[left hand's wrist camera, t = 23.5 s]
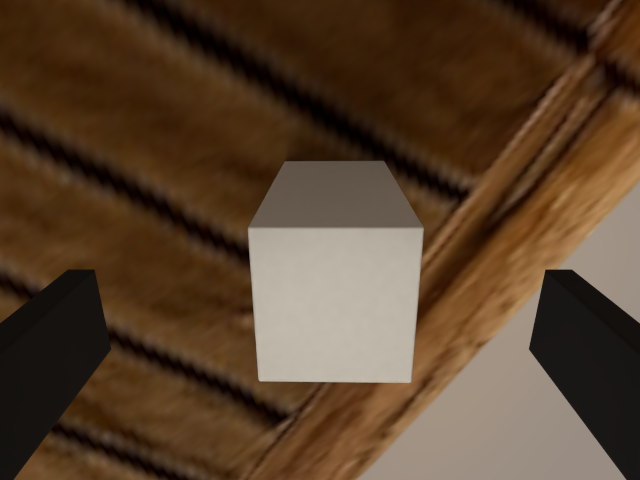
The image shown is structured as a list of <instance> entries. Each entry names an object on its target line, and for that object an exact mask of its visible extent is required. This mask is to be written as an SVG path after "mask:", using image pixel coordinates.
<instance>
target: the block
mask: <svg viewBox="0 0 640 480" xmlns="http://www.w3.org/2000/svg"><path fill="white" fill-rule="evenodd" d="M423 233H424V228H423V226H422V224H421V223H420V221H419V219H418V218H417V216H416V214H415V213H414V211H413V209H412V207H411V206H410V204H409V202H408V201H407V199H406V197H405V196H404V194H403V192H402V191H401V189H400V187H399V186H398V184H397V182H396V180H395V179H394V177H393V175H392V174H391V172H390V170H389V169H388V167H387V165H386V164H385V162H384V161H285V162H284V164H283V166H282V167H281V169H280V171H279V173H278V175H277V176H276V178H275V180H274V182H273V184H272V185H271V187H270V189H269V191H268V193H267V194H266V196H265V198H264V200H263V202H262V203H261V205H260V207H259V209H258V211H257V212H256V214H255V216H254V218H253V220H252V221H251V223H250V225H249V227H248V239H249V253H250V267H251V281H252V295H253V309H254V323H255V337H256V351H257V365H258V379H259V381H295V382H383V383H411V381H412V369H413V357H414V344H415V332H416V320H417V307H418V295H419V283H420V270H421V258H422V246H423Z"/></svg>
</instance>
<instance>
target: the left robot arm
mask: <svg viewBox="0 0 640 480" xmlns="http://www.w3.org/2000/svg"><path fill="white" fill-rule="evenodd" d="M110 350H111V347H110V342H109V337H108V332H107V327H106V323H105V318H104V313H103V308H102V303H101V299H100V294H99V289H98V284H97V280H96V275H95V270H67V271H66V272H65V273H63V274H62V275H61V276H59V277H58V278H57V279H56V280H54V281H53V282H52V283H51V284H49V285H48V286H47V287H46V288H44V289H43V290H42V291H41V292H39V293H38V294H37V295H36V296H34V297H33V298H32V299H30V300H29V301H28V302H27V303H25V304H24V305H23V306H22V307H20V308H19V309H18V310H17V311H15V312H14V313H13V314H12V315H10V316H9V317H8V318H7V319H5V320H4V321H3V322H1V323H0V480H14V478H15V477H16V476H17V474H18V473H19V472H20V470H21V469H22V468H23V466H24V465H25V464H26V462H27V461H28V460H29V458H30V457H31V456H32V454H33V453H34V452H35V450H36V449H37V448H38V446H39V445H40V444H41V442H42V441H43V440H44V438H45V437H46V436H47V434H48V433H49V432H50V430H51V429H52V427H53V426H54V425H55V423H56V422H57V421H58V419H59V418H60V417H61V415H62V414H63V413H64V411H65V410H66V409H67V407H68V406H69V405H70V403H71V402H72V401H73V399H74V398H75V397H76V395H77V394H78V393H79V391H80V390H81V389H82V387H83V386H84V385H85V383H86V382H87V381H88V379H89V378H90V377H91V375H92V374H93V373H94V371H95V370H96V369H97V367H98V366H99V365H100V363H101V362H102V361H103V359H104V358H105V357H106V355H107V354H108V353H109V351H110ZM529 350H530V351H531V353H532V354H533V355H534V357H535V358H536V359H537V361H538V362H539V363H540V365H541V366H542V367H543V369H544V370H545V371H546V373H547V374H548V375H549V377H550V378H551V379H552V381H553V382H554V383H555V385H556V386H557V387H558V389H559V390H560V391H561V393H562V394H563V395H564V397H565V398H566V399H567V401H568V402H569V403H570V405H571V406H572V407H573V409H574V410H575V411H576V413H577V414H578V415H579V417H580V418H581V419H582V421H583V422H584V423H585V425H586V426H587V427H588V429H589V430H590V432H591V433H592V434H593V435H594V437H595V438H596V439H597V441H598V442H599V444H600V445H601V446H602V448H603V449H604V450H605V452H606V453H607V454H608V456H609V457H610V458H611V460H612V461H613V462H614V464H615V465H616V466H617V468H618V469H619V470H620V472H621V473H622V474H623V476H624V477H625V478H626V480H640V323H638V322H637V321H636V320H635V319H633V318H632V317H631V316H630V315H628V314H627V313H626V312H625V311H623V310H622V309H621V308H620V307H618V306H617V305H616V304H615V303H613V302H612V301H611V300H610V299H608V298H607V297H606V296H604V295H603V294H602V293H601V292H599V291H598V290H597V289H596V288H594V287H593V286H592V285H591V284H589V283H588V282H587V281H586V280H584V279H583V278H582V277H580V276H579V275H578V274H577V273H575V272H574V271H573V270H545V275H544V280H543V284H542V289H541V294H540V299H539V303H538V308H537V313H536V318H535V323H534V327H533V332H532V337H531V342H530V347H529Z"/></svg>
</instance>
